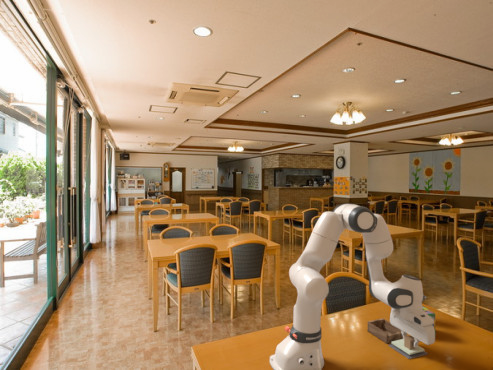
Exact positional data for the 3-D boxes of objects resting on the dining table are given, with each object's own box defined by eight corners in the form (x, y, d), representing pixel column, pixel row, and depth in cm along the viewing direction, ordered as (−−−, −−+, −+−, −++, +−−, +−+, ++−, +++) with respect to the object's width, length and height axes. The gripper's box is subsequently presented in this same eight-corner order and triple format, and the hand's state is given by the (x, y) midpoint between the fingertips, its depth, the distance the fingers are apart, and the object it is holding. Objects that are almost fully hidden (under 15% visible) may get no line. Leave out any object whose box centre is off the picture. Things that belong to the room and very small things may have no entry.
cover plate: (409, 354, 125) (409, 343, 125) (391, 343, 134) (391, 332, 134) (424, 351, 128) (424, 340, 128) (405, 340, 137) (405, 329, 137)
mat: (409, 359, 124) (409, 358, 124) (388, 345, 134) (388, 344, 134) (428, 354, 128) (428, 353, 128) (406, 341, 138) (406, 340, 138)
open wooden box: (386, 343, 136) (386, 332, 136) (367, 331, 147) (367, 321, 147) (402, 339, 140) (402, 329, 139) (383, 328, 151) (383, 318, 151)
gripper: (386, 304, 138) (386, 333, 138) (426, 324, 119) (426, 358, 119) (396, 302, 140) (396, 331, 141) (437, 321, 121) (437, 355, 121)
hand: (410, 344), depth 130 cm, fingers closed on cover plate, 3 cm apart
